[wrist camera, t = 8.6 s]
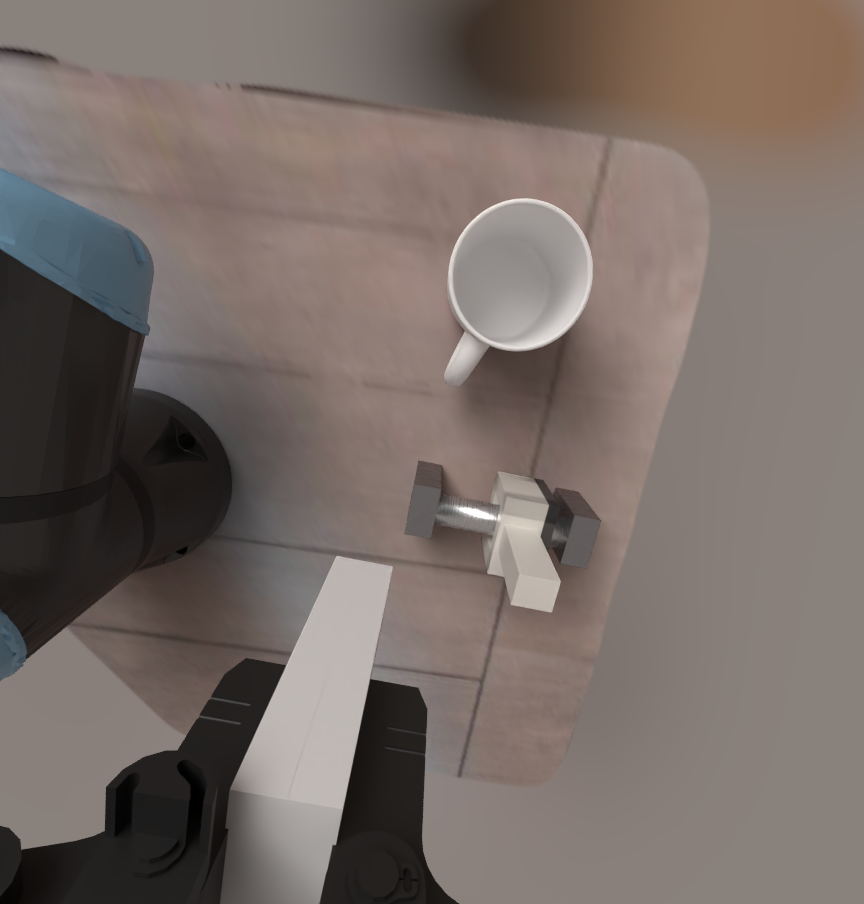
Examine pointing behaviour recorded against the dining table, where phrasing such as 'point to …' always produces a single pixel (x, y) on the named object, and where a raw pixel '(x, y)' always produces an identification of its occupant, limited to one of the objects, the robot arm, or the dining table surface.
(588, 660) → the dining table surface
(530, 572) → the sleeve
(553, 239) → the mug
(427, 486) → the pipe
